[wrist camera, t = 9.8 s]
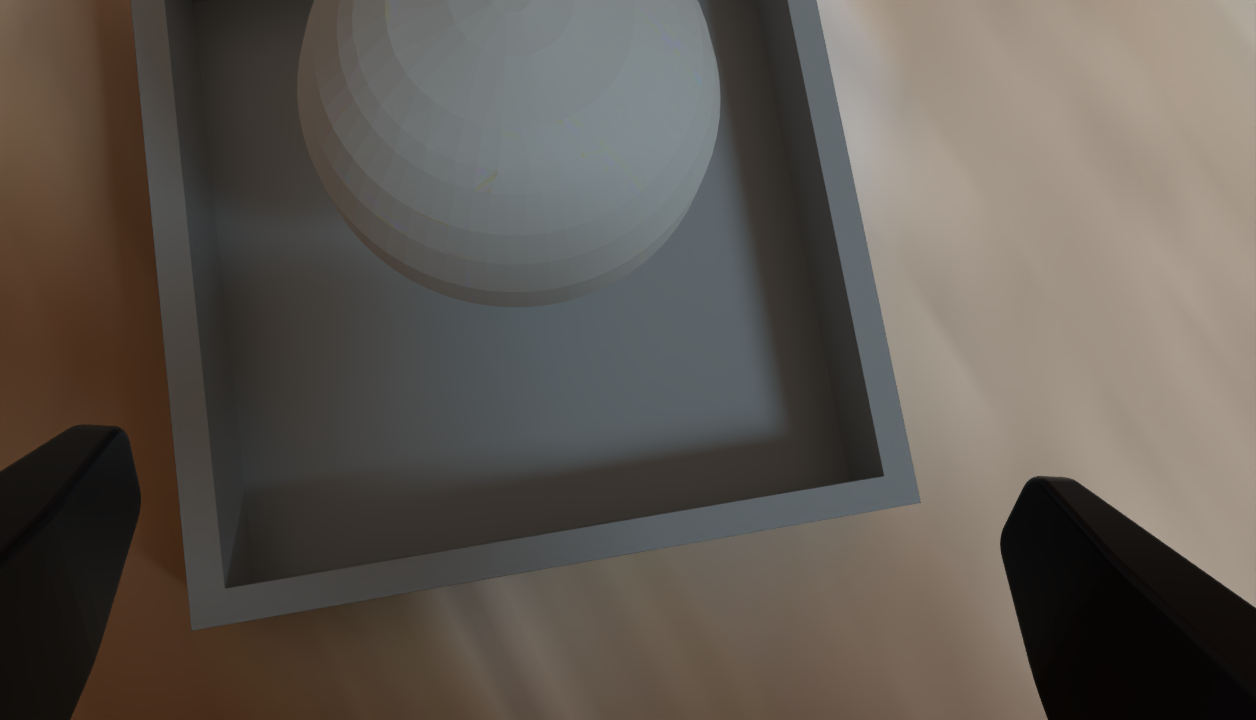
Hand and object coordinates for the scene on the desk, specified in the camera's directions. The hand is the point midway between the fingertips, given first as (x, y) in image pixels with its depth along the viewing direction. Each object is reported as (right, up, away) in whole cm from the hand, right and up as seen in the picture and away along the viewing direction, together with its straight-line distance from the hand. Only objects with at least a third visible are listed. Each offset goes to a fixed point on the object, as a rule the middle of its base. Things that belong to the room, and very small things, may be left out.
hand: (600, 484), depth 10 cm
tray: (-2, +4, +11) cm, 12 cm away
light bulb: (-2, +4, +10) cm, 11 cm away
